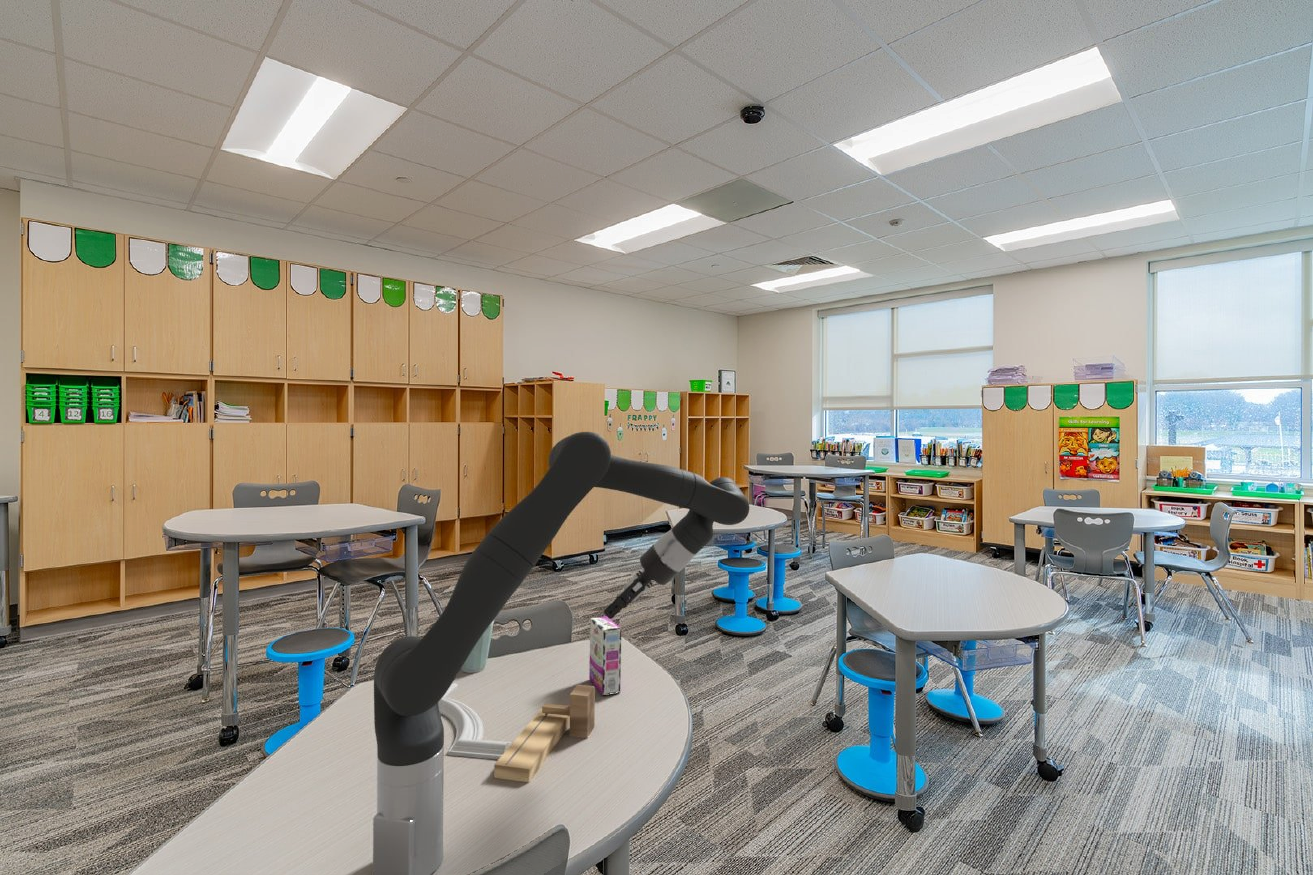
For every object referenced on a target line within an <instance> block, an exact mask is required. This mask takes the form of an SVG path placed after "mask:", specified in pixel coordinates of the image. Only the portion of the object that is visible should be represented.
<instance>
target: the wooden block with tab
mask: <svg viewBox="0 0 1313 875" xmlns="http://www.w3.org/2000/svg"><path fill="white" fill-rule="evenodd" d="M595 699H596V687H595V686H594V685H586V684H585V685H584V684H577V685H576V686H575V687H574V689H572V691H571V692H570V694H569V705H564V704H557V703H556V704H555V703H546V702H545V703H543V705H542V706H541V709H542V713H545V715H548V714H557V715H566V716H570V725H569V737H573V738H579V739H581V738H583V739H588V738H589V737H588V736H590V735H591V733H592V731H593V730H594V729H595V725H596V724H595V722H596V721H595V716H596V714H595V713H596V708H595V707H596V706H595V705H596V703H595V701H596V700H595Z"/></svg>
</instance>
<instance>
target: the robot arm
mask: <svg viewBox="0 0 1313 875" xmlns="http://www.w3.org/2000/svg"><path fill="white" fill-rule="evenodd" d="M548 467H549V468H548V470H547V471H546V473H545V474H544V476H543V477H542V479H541V480H540V481H539V483H538V484H537V485H536V486H535V487H534V488H533V490H531V491H530V492H529V493H528V494H527V495H526V496H525V497H524V498H523V499H521V501H519V502H518V503H517V504H516V505H515V506H514V507H512V508H511V509H510V510H509V511H508V512H507V513H506V514H505V515H504V516H503V517H502V518H501V519H500V520H499V521H498V522H497V523H496V524H495V525H494V526H493V527H492V528H491V529H490V530H489V532H488V533H487V534H486V535H485V536H484V538H483V539H482V540H481V541H480V543H479V544H478V546H477V547H476V548H475V549H474V550H473V551H472V553H471V554H470V556H469V557H468V558H467V561H466V562H465V563H464V566H463V568H462V570H461V572H460V574H459V577H458V579H457V581H456V584H455V586H454V589H453V591H452V593H451V596H450V598H449V600H448V602H447V605H446V606H445V608H444V609H443V611H442V612H441V614H440V616H439V617H438V619H437V620H436V621H435V622H434V624H433V625H432V626H431V627H430V628H429V630H428V631H427V632H426V633H425V634H424V635H423V637H419V636H415V635H414V636H410V635H409V636H404V637H401V638H398V639H396V640H394V641H392V642H391V643H389V645H387V647H385V648H384V650H383V651H381V654H380V655H379V657H378V659H377V660H376V664H375V667H374V674H373V710H374V711H373V712H374V714H373V715H374V716H373V717H374V720H373V721H374V722H373V723H374V732H375V738H376V739H375V740H376V748H377V749H376V750H377V754H376V756H377V760H376V761H377V762H376V764H377V766H376V768H377V770H376V771H377V772H376V773H377V774H376V775H377V776H376V814H375V815H373V816H374V817H373V819H372V875H432V874H433V873H434V872H435V871H436V870H438V868H439V867H440V865H441V864H442V862H443V858H444V771H445V770H444V769H445V768H444V765H445V764H444V763H445V762H444V759H445V758H444V756H445V755H444V754H445V752H444V751H445V750H444V749H445V746H444V745H445V727H444V723H443V720H442V717H441V713H440V712H439V706H438V702H439V701H440V700H441V698H442V697H443V696H444V695H445V693H446V692H447V690H448V689H449V687H450V686H451V684H452V683H454V681H455V679H456V678H457V676H458V674H459V672H460V671H461V670H462V666H463V664H464V663H465V661H466V660H467V658H468V656H469V655H470V653H471V651H472V650H473V648H474V647H475V645H476V643H477V642H478V640H479V639H480V637H481V636H482V635H483V633H484V632H485V631H486V629H487V628H488V627H489V625H490V624H491V623H492V621H493V620H494V621H495V619H496V617H497V616H498V615H499V614H500V612H501V610H502V609H503V608H504V606H505V605H506V604H507V603H508V601H509V600H510V598H511V597H512V596H513V594H514V593H515V592H516V591H517V589H518V588H519V587H520V585H522V584H523V582H524V581H525V579H526V577H527V576H528V575H529V574H530V573H531V571H532V570H533V568H534V567H535V566H536V564H537V563H538V561H539V560H540V558H541V556H542V555H543V554H544V553H545V551H546V550H547V549H548V548H549V545H550V544H551V543H552V541H553V540H554V538H555V537H556V536H557V534H558V532H559V531H560V529H561V528H562V526H564V523H565V522H566V520H567V519H568V517H569V516H570V515H571V513H572V512H573V511H574V509H576V507H577V506H578V505H579V504H580V503H581V502H582V501H583V499H585V498H586V496H587V495H588V494H589V493H590V492H591V491H592V490H593V489H594V488H600V489H607V490H613V491H618V492H623V493H627V494H631V495H635V496H638V497H641V498H642V497H643V498H645V499H649V500H653V501H655V502H656V501H657V502H660V503H663V504H667V505H670V506H675V507H678V508H682V509H687V510H688V512H687V513H686V514H685V516H684V517H682V519H680V520H679V521H678V522H677V523H676V524H675V525H674V526H673V527H672V528H670V530H668V531H667V532H665V533H664V534H663V535H661V537H659V538H658V540H657V541H655V542H654V543H653V544H652V545H651V546H650V547H649V548H648V549H647V550H646V551H645V552H644V553H643V554H642V555H641V556H640V558H639V562H640V566H641V567H642V568H643V571H642V570H641V569H639V570H638V571H637V572H636V573H635V574H634V575H633V576H632V577H631V578H630V581H629V582H628V583H626V585H624V586H623V587H622V591H621V592H620V594H619V595H617V596H616V598H615V600H613V602H612V603H610V604H609V605H608V606H607V607H606V608H605V609H604V610H603V614H604V615H605V616H607V617H608V618H609V619H610V620H612V619H614V617H615V616H616V615H618V614H619V613H620V611H622V610H623V609H626V608H627V607H628V605H629V604H630V603H631V602H635V601H636V600H637V599H638V598H639V597H640V596H641V595H643V593H646V592H647V591H648V590H649V589H650V588H651V586H653V585H654V583H653V582H655V583H657V584H658V585H661V586H665V585H667V584H669V582H670V581H671V580H673V578H675V577H676V576H677V575H678V574H679V573H680V572H681V571H682V570H683V569H684V568H685V567H686V566H688V564H690V562H691V561H692V560H693V558H694V557H695V556H696V555H697V554H698V553H699V552H700V551H701V550H702V549H703V548H704V547H705V546H707V544H708V543H709V542H710V541H712V539H713V537H714V529H713V528H714V527H713V525H714V523H716V524H721V525H725V526H733V525H738V524H741V523H742V522H743V521H744V520H746V518H747V517H748V515H749V512H750V503H749V501H748V498H747V497H746V495H745V494H744V493H743V491H742V490H741V489H740V487H739V486H738V485H737V483H736V482H735V481H734V480H733V479H732V478H730V477H726V476H721V477H717V478H715V479H712V480H711V481H707V480H706V479H705V478H704V477H703V476H702V475H699V474H697V473H694V472H692V471H688V470H684V469H682V468H678V467H674V466H671V465H666V464H665V465H664V464H660V463H651V462H644V461H640V460H639V461H638V460H632V459H627V458H623V457H620V456H617V455H613V454H612V452H611V448H610V445H609V443H608V441H607V440H606V439H605V438H604V437H603V436H602V435H600V434H599V433H597V432H593V431H578V432H575V433H573V434H570V435H568V436H566V437H564V438H562V439H561V440H560V441H559V440H558V442H557V443H556V444H555V445H553V447H552V449H551V450H550V452H549V456H548Z"/></svg>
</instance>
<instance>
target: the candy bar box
mask: <svg viewBox="0 0 1313 875" xmlns="http://www.w3.org/2000/svg"><path fill="white" fill-rule="evenodd" d="M589 625H590V626H589V674H588V675H589V676H588V677H589V678H588V679H590V680H589V681H590V682H591V681H592V682H591V683H592V685H593V686H594V685H595V686H596V687H595V689H597V690H598V692H599V693H600V694H601V693H602V694H601V695H602V696H603V695H606V694H610V693H616V692H620V693H621V676H622V674H621V669H622V668H621V667H622V661H621V660H622V627H620V626H619V625H618V624H616V622H614V620H612V619H609V618H608V617H607V616H606V615H605V616H597V617H591V618H589ZM606 696H607V695H606Z"/></svg>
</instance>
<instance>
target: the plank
mask: <svg viewBox="0 0 1313 875" xmlns="http://www.w3.org/2000/svg"><path fill="white" fill-rule="evenodd" d="M569 727H570V716H566V715H557V714H548V715H545V713H542V708H541V709H540V710H539V711H538V712H537V713H536V715H535V716H534V717H533V718H532V719H531V721H530V722H529V723H528V724H527V725H526V726H525V727H524V729H523V730H522V731H521V733H519V734H518V736H517V737H516V738H515V740H514V741H513V743H512V744H511V745H510V747H509V748H508V749H507V750H506V751H505V752H504V754H503V755H502V756H501V757H500V758H499V759H497V761H496V762H495V763H494V766H493V768H494V770H493V771H494V772H493V775H494V776H493V777H494V779H501V780H508V781H515V782H524V783H531V781H532V779H533V778H534V776H535V775H536V773H537V772H538V770H539V769H540V768H541V766H542V764H544V762H545V761H546V759H547V757H548V756H549V754H551V752H552V751H553V749H554V748H555V746H556V745H557V744H558V742H559V741H560V739H561V738H562V736H564V734H565V732H566V731H567V730H568V728H569Z"/></svg>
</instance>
